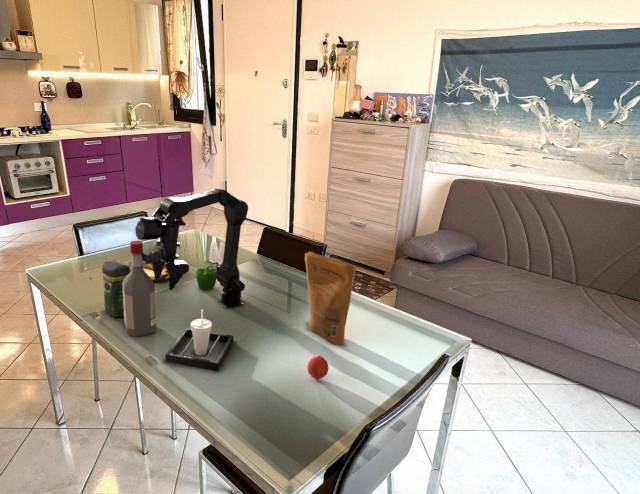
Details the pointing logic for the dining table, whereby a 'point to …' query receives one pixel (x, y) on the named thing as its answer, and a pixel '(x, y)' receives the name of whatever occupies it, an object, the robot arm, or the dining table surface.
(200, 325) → the smoothie
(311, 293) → the pancake mix bag
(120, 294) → the coffee jar
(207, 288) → the bell pepper
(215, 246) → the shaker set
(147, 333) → the liquor
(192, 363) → the divided serving tray
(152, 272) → the food plate
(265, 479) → the dining table surface
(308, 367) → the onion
